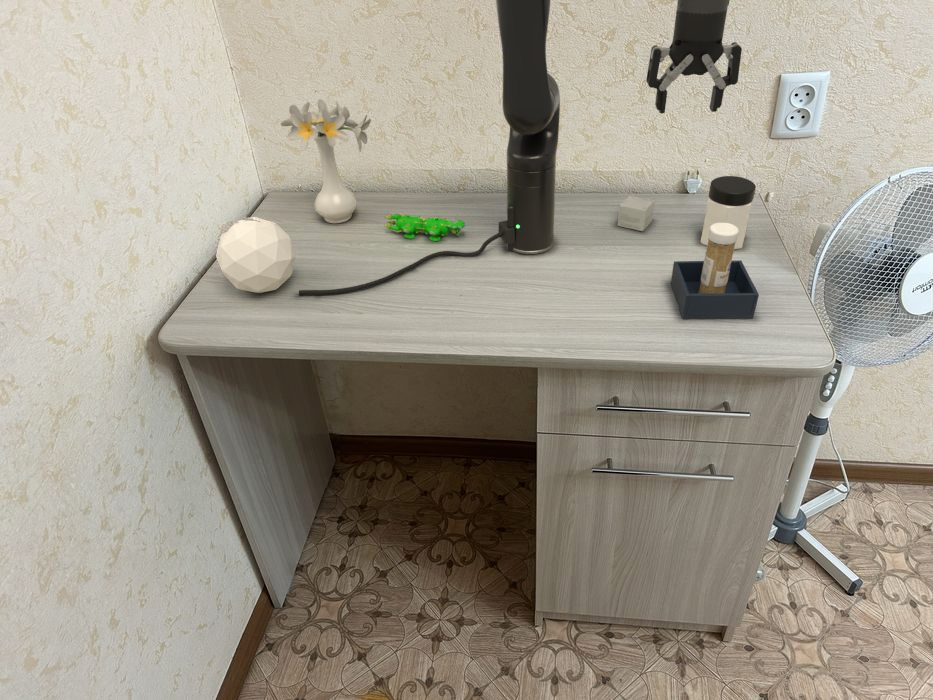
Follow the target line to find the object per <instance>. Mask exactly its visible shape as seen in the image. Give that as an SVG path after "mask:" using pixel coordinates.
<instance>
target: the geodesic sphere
mask: <svg viewBox="0 0 933 700" xmlns="http://www.w3.org/2000/svg"><path fill="white" fill-rule="evenodd" d="M222 225H223V226H221V227H220V228H219V230H221V231H223V233H222V234H221V235H220V238H219V242H218V246H217V249H216V254H215V257H216V260H217V262H218V265H219V266H220V269H221V271H222V274H223V276H225V277H226V279H227V280H228V281H229V282H230V283H231V284H232V285H233V286H234V287H235V288H236V289H237V290H241V291H245V292H251V293H254V294H255V293H256V294H263V293H267V292H271V291H276V290H278V289H279V288H280V287H281V286H282V285H283V284H284V283H285V282H286V281H287V280H288V279H289V278H290V277H291V276H292V275H293V271H294V267H295V262H296V258H297V253H296V250H295V247H294V245H293V242H292V241H293V240H292V237H290V235H288V233H287V232H285V230H284V229H283V228H282V227H281V226H280V225H279V224H278V223H276V222H273V221H270V220H267V219H264V218H260V217H257V216H252V217H249V216H248V217H247V216H246V215H245V216H243V219H240V220H237V221H234V222H231V221H230V222H227V223H226V224H222Z"/></svg>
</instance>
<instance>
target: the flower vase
mask: <svg viewBox="0 0 933 700" xmlns="http://www.w3.org/2000/svg"><path fill="white" fill-rule="evenodd" d="M335 105H336V106H333V107H332V108H330V109H328V106H327V103H326V102H325V100H323V99H322V98H319V99H318V100H317V108H318V111H316V110H311V111H309V109H310V106H311V103H310V102H309V101H307V102H305V103H304V104H303V106H302V107H301V110H300V109H299V108H298V106H297V105H296V104H290V106H289V107H288V108H289V109H288V111H289V112H288V113H289V115H290V117H289V118H286V119H284V120H282V121H281V122H280V126H281V127H291V128H290V131H289V132H288V133H287V136H286V137H287V139H288V140H289V141H296V140H298V139H300V140H299V147H300V149H301V150H302V151H306V150H307V148H308V145H309V141H310V139H313V140H314V141H315V144H316V146H317V150H318V152H319V158H320V164H321V169H322V170H321V171H322V186H321V190H320V191H319V192H318V194H317V195H316V196H315V199H314V210H315V211H316V213H317V214H318V215H320V216H321V218H322V217H323V219H324V221H325V222H326V223H329V224H342V223H345V222H348V221H349V220H350V219H351V218H352V217H353V213H354V212H355V210H356V209H357V206H358V200H357V198H356V195H355V194H354V193H353V192H352V190H350V189H349V188H347V187H346V186H345V185H344V183H343V182H342V179H341V177H340V175H339V170H338V167H337V162H336V156H335V150H334V149H335V148H334V147H335V145H336V143H337V141H336V140H337V139H338V140H341V141H343V142H348V141H349V139H350V137H349V135H348V134H347V133H346V132H345V131H343V130H346V131H351V132H353V134H354V136H355V139H356V142H357V146H358V150H359V151H358V152H359V153H361V152H362V146H363V144H364V145H367V144H368V135H367V133H366V132H365V131H366V130H367V129H368V128H369V126H370V125H371V121H372V119H371V118H368V119H367V117H368V115H367V114H365V116H364V117H363V118H362V120H361V121H360V122H359V123H358V122H357V121H356V120H353V119H350V110H349V109H348V107H347V106H343V107H341V105H340V104H339V102H338V101H337V100H335ZM313 126H314V127H315V128H314V127H313ZM362 143H363V144H362Z"/></svg>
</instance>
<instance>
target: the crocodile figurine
mask: <svg viewBox="0 0 933 700" xmlns="http://www.w3.org/2000/svg"><path fill="white" fill-rule="evenodd" d="M384 219H386V220H388V221H386V223H387V224H385V225H384V224H383V227H385V228H386V229H388V230H391V231H394V232H395V233H400V232H401V233H404V235H403V237H404V238H406V239H408V240H412V239H413V240H414V239H415V238H416V235H415V234H418V233H425V235H428V234H430V236H429V237H428V239H429V240H430V241H431V242H439V241H441V237H447V235H448V234H449V233H452V234H454V235H456V237H460V235H461V233H460V232H461V231H462V229H463V228H465V227H467V224H466V222H465V221H463V220H461V219H457V218H453V219H452V220H448V219H447V218H440V217H439V216H435V217H434V218H432V217H430V216H428V217H427V218H425V217H421V215H419V216H412V215H411V214H410V213H408V214H402V213H395V214H388V215H386V216H384Z"/></svg>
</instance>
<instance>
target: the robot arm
mask: <svg viewBox="0 0 933 700" xmlns="http://www.w3.org/2000/svg"><path fill="white" fill-rule="evenodd" d="M729 5H730V0H677V3H676V11H675V12H676V13H675V18H674V19H675V20H674V28H673V35H672V42H671V44H670V46H669V47H661V46H660V47H659V46H658V45H653V46H652V47H651V50H650V53H649V54H650V55H649V60H648V61H649V62H648V67H647V73H646V79H645V81H646V83H647V85H648V87H649V88H651V89H656V93H655V104H654V105H655V109H656V110H657V111H658V113H659V114H666V106H667V98H668V97H667V96H668V88H669V87H670V85H671V84H672V83H673V82H674V81H677V79H678V78H679V76H680V75H682V76H684V77H685V76H686V77H688V76H692V75H697V76H704V75H705V74H707V73H708V74H709V76H710V78H711V79H712V81H713V83H714V85H713V86H712V91H711V96H710V102H709V110H710V111H711V112H712V113H714V112H715V113H716V112H717V111H718V109H720V108H721V107H722V105H723V98H724V93H725V89H726V88H727V87H729V86H731V85H732V86H734V85H736V84H737V83H738V82H739V74H740V66H741V58H742V51H743V49H742V46H741V45H740V44H739V43H738V42H736V41H735V42H731V44H727V45H723V37H724V32H725V26H726V19H727V13H728V8H729ZM495 6H496V7H495V8H496V14H497V23H498V31H499V37H500V44H501V52H502V99H501V100H502V113H503V117H504V119H505V121H506V123H507V124H508V126H509V135H508V141H507V147H506V219H505V220H501V221H498V233H496V234H494V235H492V236H490V237H488V238H487V239H486V240H485V241H484V242H483V243H482V244H481V246H480V248H479V249H478V250H475V251H472V252H460V251H455V250H454V251H452V250H442V251H437V252H433V253H430V254H428V255H426V256H424V257H422V258H420V259H419V260H417V261H415V262H414V263H411V264H410V265H407V266H405V267H403V268H401V269H399V270H397V271H395V272H393V273H390V274H388V275H386V276H384V277H381V278H379V279H376V280H372V281H369V282H366V283H361V284H358V285H353V286H348V287H342V288H335V289H334V288H332V289H299V290H298V295H299V296H307V295H308V296H311V295H312V296H324V295H326V296H327V295H337V294H338V295H339V294H347V293H352V292H356V291H360V290H364V289H365V290H366V289H368V288H371V287H375V286H379V285H380V284H384V283H386V282H389V281H390V280H393V279H395V278H397V277H399V276H401V275H403V274H405V273H406V272H409V271H411V270H413V269H416V268H417V267H419V266H421V265H422V264H424V263H426V262H428V261H430V260H432V259H435V258H439V257H442V256H453V257H461V258H473V257H477V256H479V255H481V254H483V253H484V252H485V249H486V248H487V246H489V245H490V244H491V243H492V242H494V241H495V240H497V239H499V238H500V239H501V241H503V242H504V244H505V245H507V251H508V252H515V253H517V254H523V255H539V254H543V253H546V252H548V251H550V250H551V249H552V248H553V246H554V244H555V239H554V237H555V202H556V199H555V198H556V167H557V152H558V145H559V136H560V135H559V132H560V113H561V112H560V111H561V94H560V88H559V85H558V83H557V81H556V79H555V78H554V77H553V76H552V75H551V74H550V73H548V65H547V64H548V63H547V38H548V37H547V36H548V28H549V21H550V12H551V11H550V9H551V0H495ZM723 55H724V57H725V58H726V59H727V61H728V62H727V69H726V70H727V71H726V75H724V76H722V75H721V73H720V71H719V70H718V68H717V65H716V63H717V62H718V60H719V59H720V58H721V57H722V56H723ZM667 56H668V57H669V59H670V60H671V63H670V64H669V65H668V67H667V68H665V71H664V73H663V74H662V75H661V76H660V77H659V78H658V75H659V70H660V63H663V62H664V61H665V58H666V57H667Z"/></svg>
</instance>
